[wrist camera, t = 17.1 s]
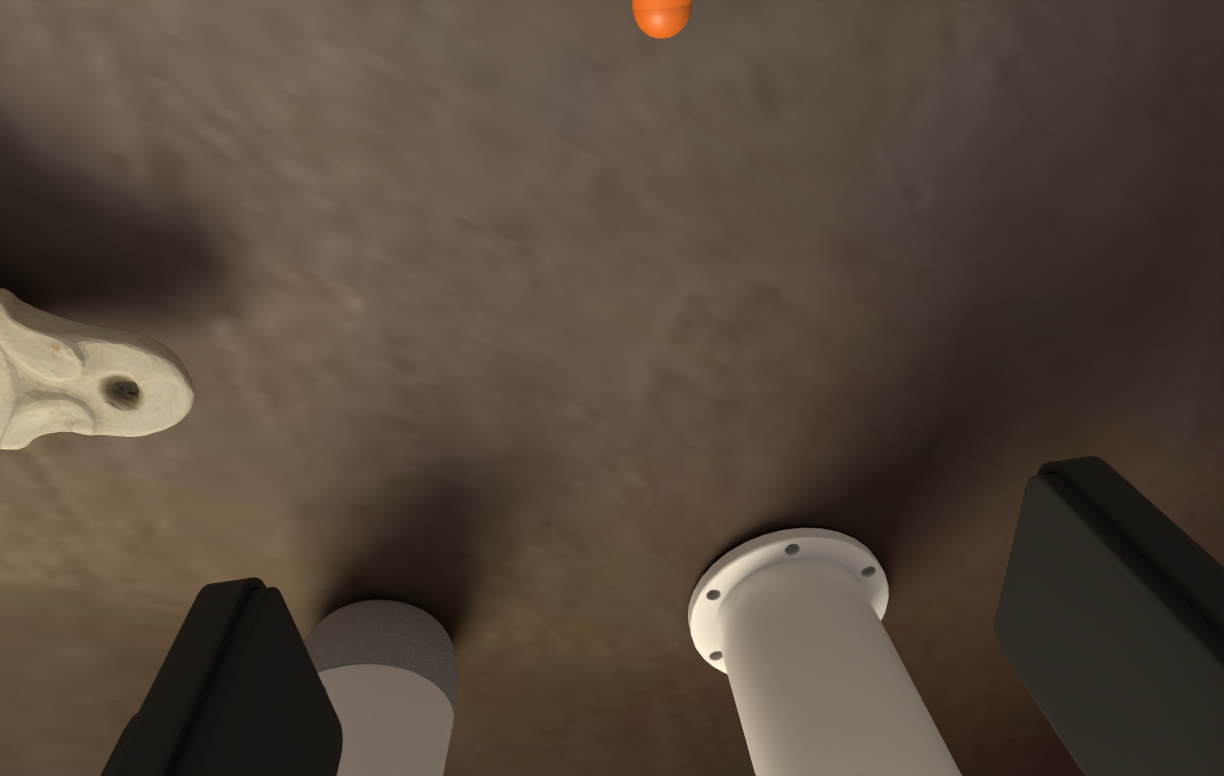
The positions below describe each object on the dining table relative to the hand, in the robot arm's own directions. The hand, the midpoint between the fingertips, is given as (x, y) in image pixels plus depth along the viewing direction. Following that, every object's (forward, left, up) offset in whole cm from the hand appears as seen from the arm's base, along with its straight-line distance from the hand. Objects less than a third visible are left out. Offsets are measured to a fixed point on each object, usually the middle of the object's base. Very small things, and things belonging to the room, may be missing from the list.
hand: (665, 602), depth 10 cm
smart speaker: (-28, +15, -26) cm, 41 cm away
